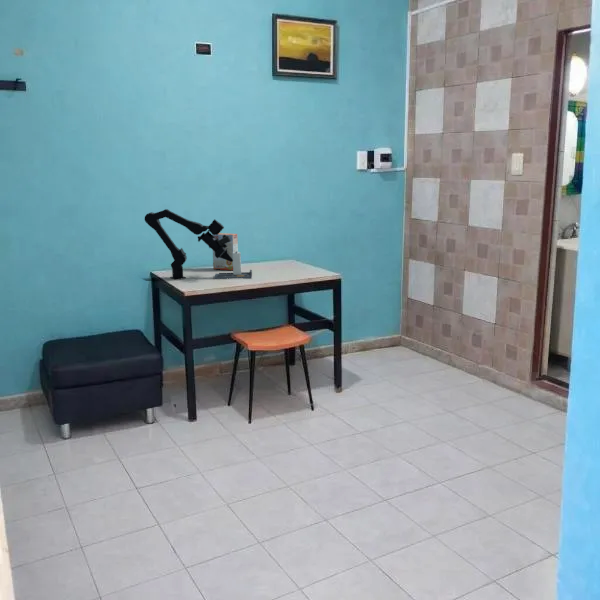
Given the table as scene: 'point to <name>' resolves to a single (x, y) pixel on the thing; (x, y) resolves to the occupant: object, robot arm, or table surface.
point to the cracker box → (232, 247)
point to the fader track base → (230, 275)
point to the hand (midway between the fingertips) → (232, 261)
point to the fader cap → (236, 263)
